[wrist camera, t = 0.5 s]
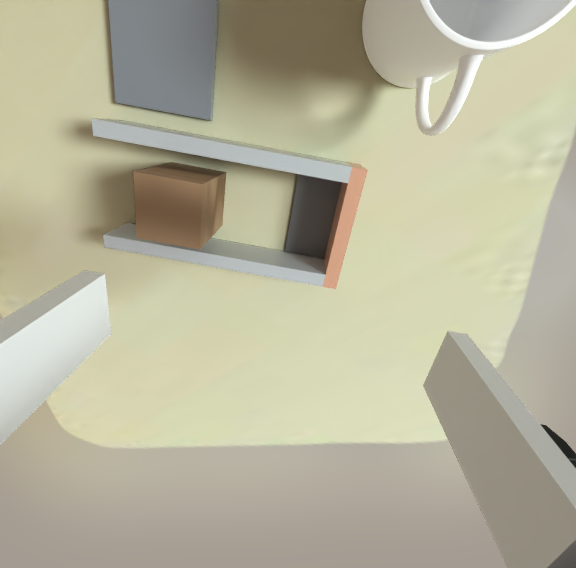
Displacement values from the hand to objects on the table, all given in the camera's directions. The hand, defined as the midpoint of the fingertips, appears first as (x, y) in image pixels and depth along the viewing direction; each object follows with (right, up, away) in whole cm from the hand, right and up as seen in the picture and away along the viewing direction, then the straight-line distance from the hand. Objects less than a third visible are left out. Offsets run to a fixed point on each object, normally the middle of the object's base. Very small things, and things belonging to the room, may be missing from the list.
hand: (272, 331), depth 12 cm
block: (-8, +10, +18) cm, 22 cm away
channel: (-5, +10, +17) cm, 21 cm away
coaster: (-9, +20, +13) cm, 25 cm away
